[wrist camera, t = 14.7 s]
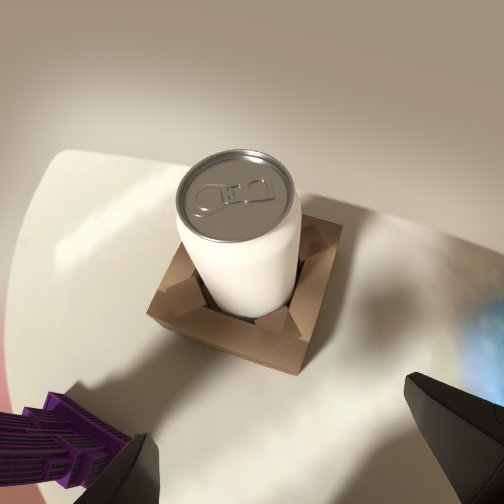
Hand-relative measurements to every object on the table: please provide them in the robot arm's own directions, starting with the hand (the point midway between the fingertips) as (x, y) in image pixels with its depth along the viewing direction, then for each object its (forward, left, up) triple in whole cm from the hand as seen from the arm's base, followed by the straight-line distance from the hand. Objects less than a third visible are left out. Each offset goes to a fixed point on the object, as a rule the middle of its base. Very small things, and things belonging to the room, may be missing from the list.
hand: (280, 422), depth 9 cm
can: (+5, +9, -13) cm, 16 cm away
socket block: (+5, +9, -14) cm, 17 cm away
